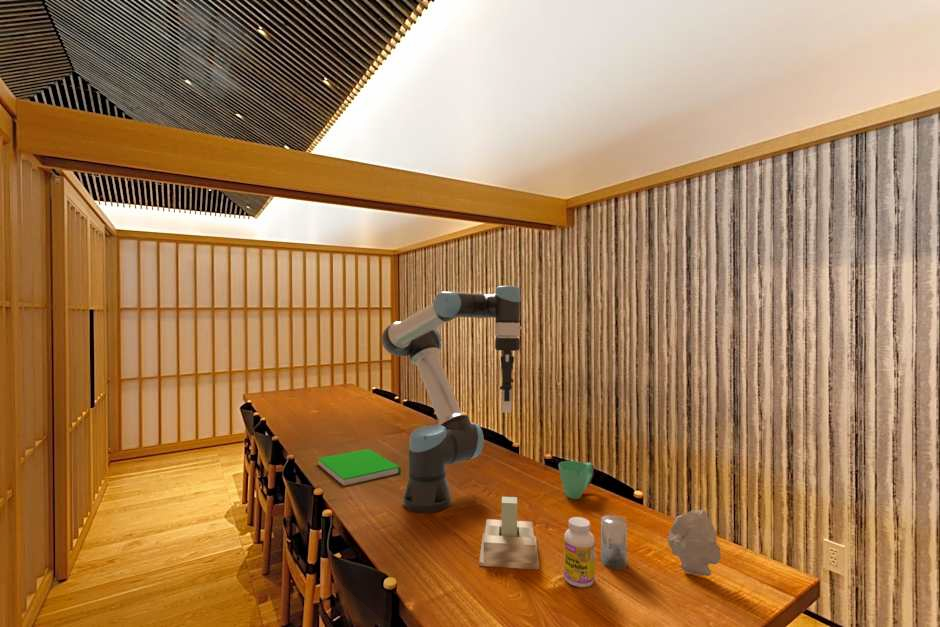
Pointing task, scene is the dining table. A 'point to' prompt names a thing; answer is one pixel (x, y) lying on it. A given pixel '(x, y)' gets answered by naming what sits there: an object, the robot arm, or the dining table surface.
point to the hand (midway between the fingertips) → (506, 407)
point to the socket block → (509, 546)
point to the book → (358, 466)
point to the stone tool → (694, 542)
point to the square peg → (509, 516)
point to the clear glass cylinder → (614, 542)
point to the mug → (575, 477)
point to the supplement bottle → (579, 553)
